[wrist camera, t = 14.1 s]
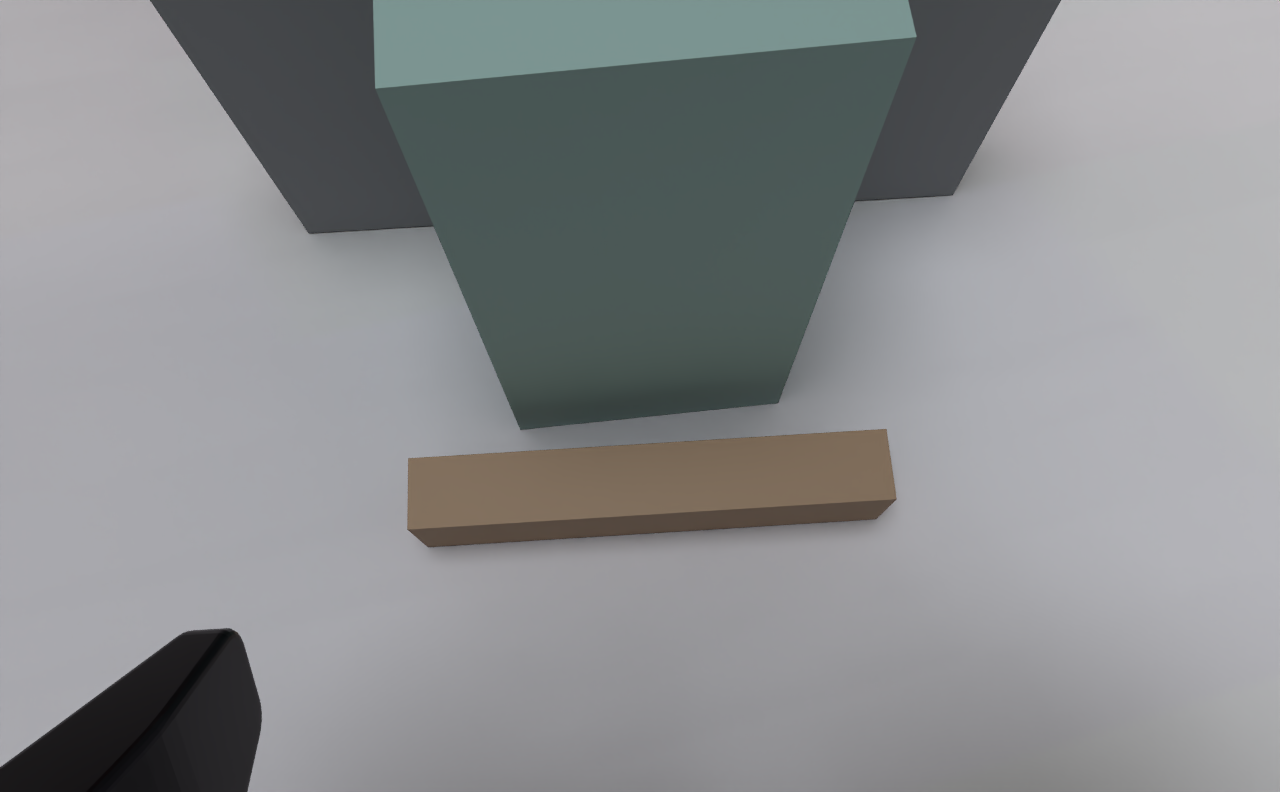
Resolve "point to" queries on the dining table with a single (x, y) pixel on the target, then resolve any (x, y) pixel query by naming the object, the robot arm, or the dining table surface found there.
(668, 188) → the cabinet box
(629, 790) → the dining table surface
